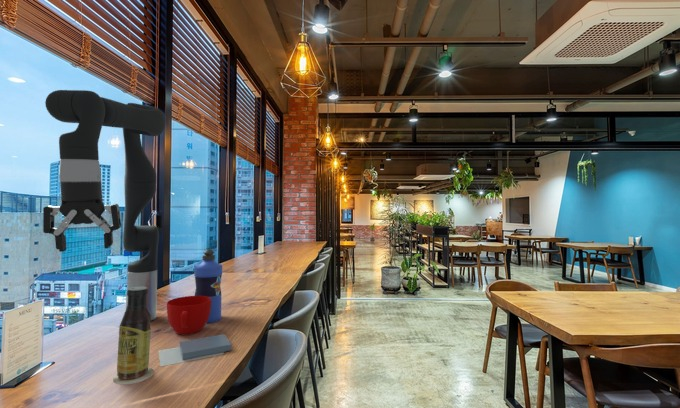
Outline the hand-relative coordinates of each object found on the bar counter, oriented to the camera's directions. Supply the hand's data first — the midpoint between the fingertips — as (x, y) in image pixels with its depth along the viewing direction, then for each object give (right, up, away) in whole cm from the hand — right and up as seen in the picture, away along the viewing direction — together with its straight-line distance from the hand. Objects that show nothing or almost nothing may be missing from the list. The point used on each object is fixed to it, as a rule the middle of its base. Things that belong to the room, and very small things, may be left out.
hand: (85, 249), depth 78 cm
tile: (+17, -28, +11) cm, 35 cm away
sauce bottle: (+12, -29, -1) cm, 31 cm away
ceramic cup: (+12, -30, +26) cm, 42 cm away
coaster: (+12, -29, -1) cm, 32 cm away
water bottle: (+12, -31, +41) cm, 53 cm away
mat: (+19, -30, +12) cm, 37 cm away
